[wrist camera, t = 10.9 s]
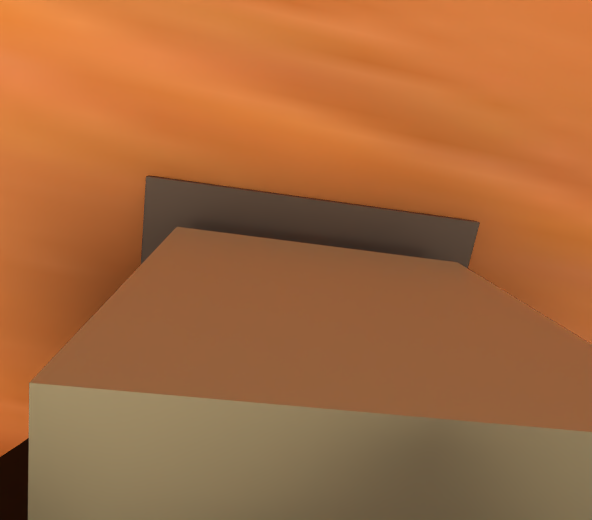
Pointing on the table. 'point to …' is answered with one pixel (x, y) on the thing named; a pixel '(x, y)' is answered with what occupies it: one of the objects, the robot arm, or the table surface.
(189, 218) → the thin dark grey panel
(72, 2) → the table surface
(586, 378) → the beige cuboid
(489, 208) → the table surface
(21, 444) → the robot arm
